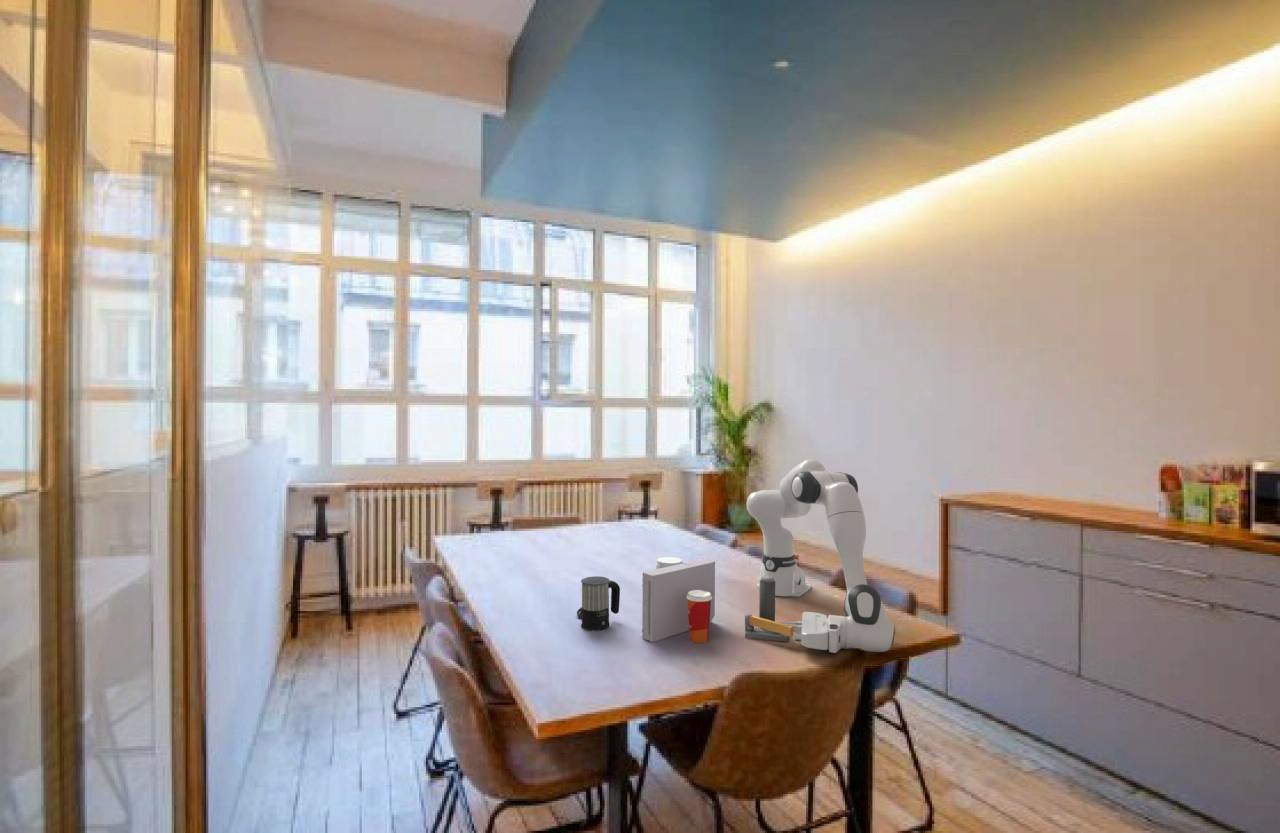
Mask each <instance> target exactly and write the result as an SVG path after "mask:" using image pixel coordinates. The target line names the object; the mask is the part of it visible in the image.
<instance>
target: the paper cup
mask: <svg viewBox="0 0 1280 833" xmlns="http://www.w3.org/2000/svg"><path fill="white" fill-rule="evenodd" d="M686 598H687V599H688V619H689V630H688V634H689V641H690V642H693V643H695V644H705V643H707V642H708V641H709V635H710V624H711V623H710V607H711V599H712V597H711V594H710V592H707V591H702V590H693V591H690V592H688V595H687V597H686ZM709 623H710V624H709Z"/></svg>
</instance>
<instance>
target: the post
mask: <svg viewBox="0 0 1280 833" xmlns="http://www.w3.org/2000/svg"><path fill="white" fill-rule="evenodd" d="M745 631H751V632H753V627H752V625H746V624H745V623H744V632H745Z"/></svg>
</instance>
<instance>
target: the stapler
mask: <svg viewBox="0 0 1280 833" xmlns="http://www.w3.org/2000/svg"><path fill="white" fill-rule="evenodd" d="M778 622H779V621H775V622H774V621H771V620H767V619H763V618H760V617H759V616H757V615H756V616H755V615H752V614H750V613H747V614H744V625H745V624H746V625H752V626H753V627H754V626H756V627H759V628H763V629H766V630H770V631H773V632H777V633H780V635H782V634H784V635H786V636H788V637H792V636H794V632H793V626H791V625H786V624H782V623H778Z"/></svg>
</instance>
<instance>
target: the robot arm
mask: <svg viewBox="0 0 1280 833" xmlns="http://www.w3.org/2000/svg"><path fill="white" fill-rule="evenodd" d="M858 493H859V485H858V481H857V480H856V478H855V477H854V476H853V475H851V474H850V473H846V472H843V471H828V470H827V471H826V469H825V467H824V465H823V464H822V463H821V462H820V461H818V460H816V459H812V458H811V459H809V458H808V459H806V460H804V461H802V462H800V463H799V464H797V465H795V467H793V468H792V469H790V471H789V472H788V473H787V474H786V475H785V476H784V477H783V478H782V479H781V481H780V482H779V488H778V489H762V490H758V491H754V492H751V493H750V494H749V495H748V497H747V499H746V510H747V513H748V514H749V515H750V516H751V517H752V518H753V519H754V520H755V521H756V522H757V523H758V525H759V527H760V529H761V532H762V537H763V538H762V539H763V553H762V557H761V558H762V565H761V566H760V568H759V570H760V571H759V578H758V579H759V581H758V583H756V587H757V588H758V591H760V580H761V577H762V576H770V577H773V578H774V581H775V597H797V598H798V597H801V596H803V595H804V594H806V593H807V592H809V590H811V589H812V588H813V587H812V584H811V583H807V582H806V573H805V572H804V571H803V569H801V567H799V566H798V565H797V562H796V560H797V561H798V560H799V559H800V554H798V553H796V554H795V553H794V536H793V533H792V532H791V531H790V530H789V529H787V528H785V527H784V526H783V525H782V521H781V519H795V518H796V519H797V518H801V517H803V516H806V515H808V514H809V512H810V510H811V508H812V505H813V504H814V505H823V506H824V507H825V514H826V519H827V525H828V527H829V531H830V534H831V538H832V539H833V542H834V545H835V547H836V549H837V552H838V555H839V557H840V560H841V565H842V571H843V577H844V581H845V582H844V583H845V588H846V593H845V598H844V602H843V610H844V614H845V616H844V615H834V614H828V616H827V615H826V614H823V613H820V612H812V611H803V612H802V613H801V614H802V615H801V621H799V620H796V621H786V622H785V623H786V625H791V626H793V633H797V634H801V641H800V644H801V646H803V647H806V648H807V649H808V648H809V649H812V650H813V649H814V650H820V651H827V650H828V652H829V653H832V654H833V653H834V654H836V653H837V652H839V651H840V650H841V649H845V650H846V649H847V650H849V649H856V648H855V647H861V648H862V649H863V650H864V651H863V652H877V653H879V652H880V653H881V652H888V651H889V650H890V649H891V648H892V647H893V645H894V641H895V636H896V627H895V624H894V623H893V622H892V620H891V619H890V618H889V616H888V614H887V612H886V610H885V608H884V604H883V601H882V598H881V595H880V593H879V592H878V590H877V589H875V588H874V587H873V586H871V585H869V584H868V581H867V577H866V576H867V575H866V572H865V566H864V549H865V548H864V547H865V543H866V538H867V525H866V524H867V523H866V519H865V513H864V509H863V505H862V503H861V502H862V501H861V500H860V497H859V494H858Z"/></svg>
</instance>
